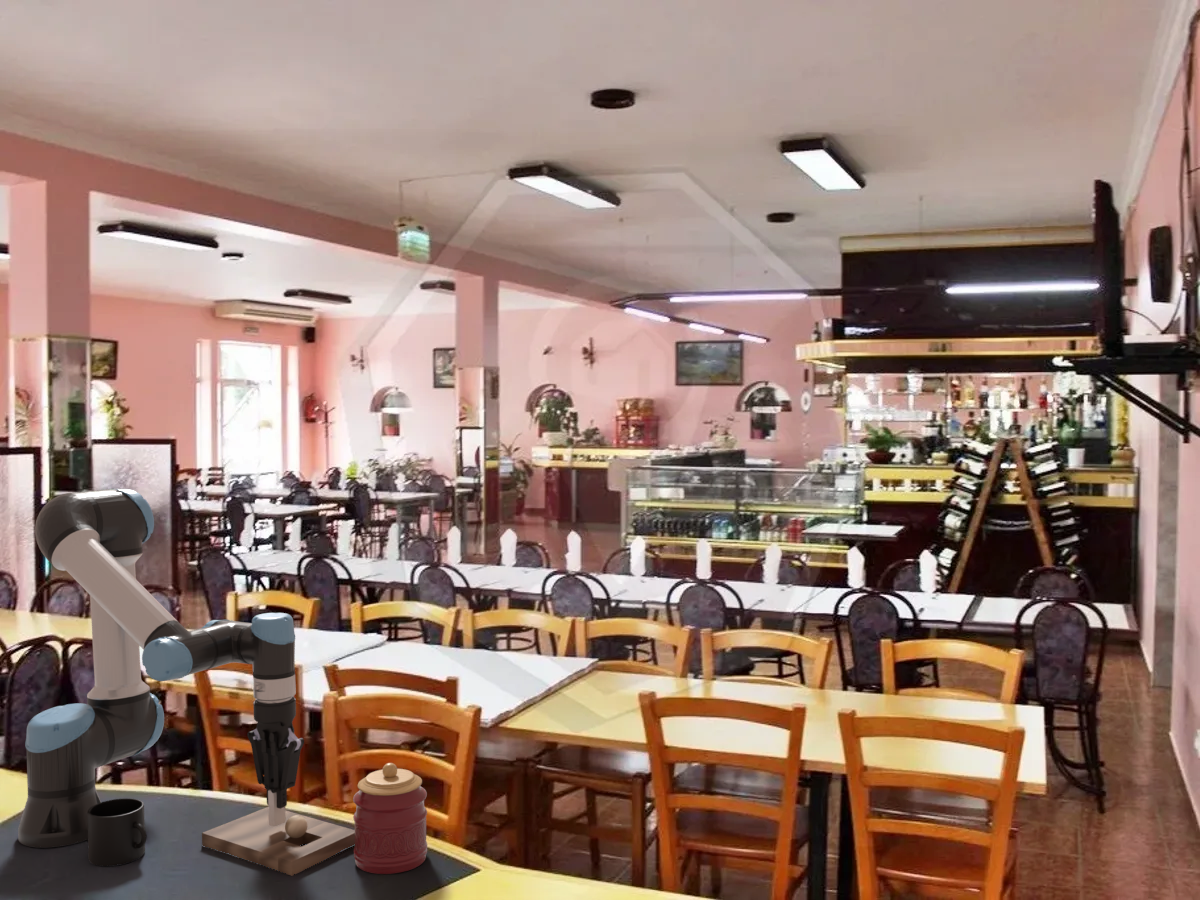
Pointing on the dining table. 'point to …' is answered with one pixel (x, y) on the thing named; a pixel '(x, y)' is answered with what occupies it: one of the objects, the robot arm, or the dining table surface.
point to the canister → (390, 821)
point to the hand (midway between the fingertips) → (277, 823)
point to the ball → (296, 826)
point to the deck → (278, 841)
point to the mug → (116, 832)
